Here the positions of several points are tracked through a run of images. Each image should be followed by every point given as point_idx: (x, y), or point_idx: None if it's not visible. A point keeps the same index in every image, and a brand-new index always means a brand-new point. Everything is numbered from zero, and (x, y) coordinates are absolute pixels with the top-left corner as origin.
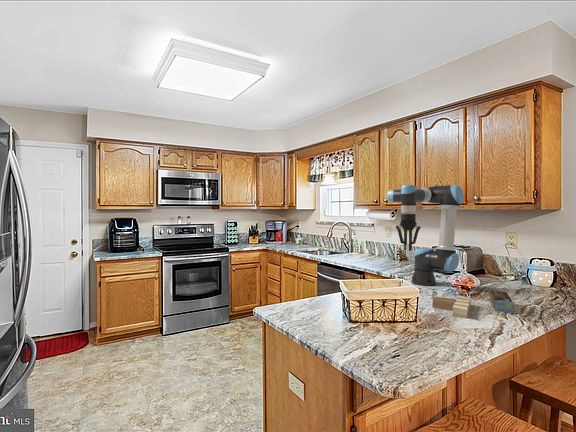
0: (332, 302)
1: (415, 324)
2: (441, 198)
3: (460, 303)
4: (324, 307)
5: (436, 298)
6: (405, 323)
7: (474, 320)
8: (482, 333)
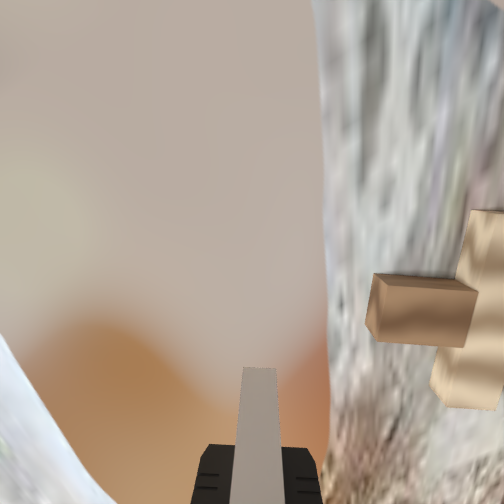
0: (36, 423)
1: None
2: None
3: (485, 344)
4: (46, 476)
5: (393, 321)
6: None
7: None
8: (490, 488)
